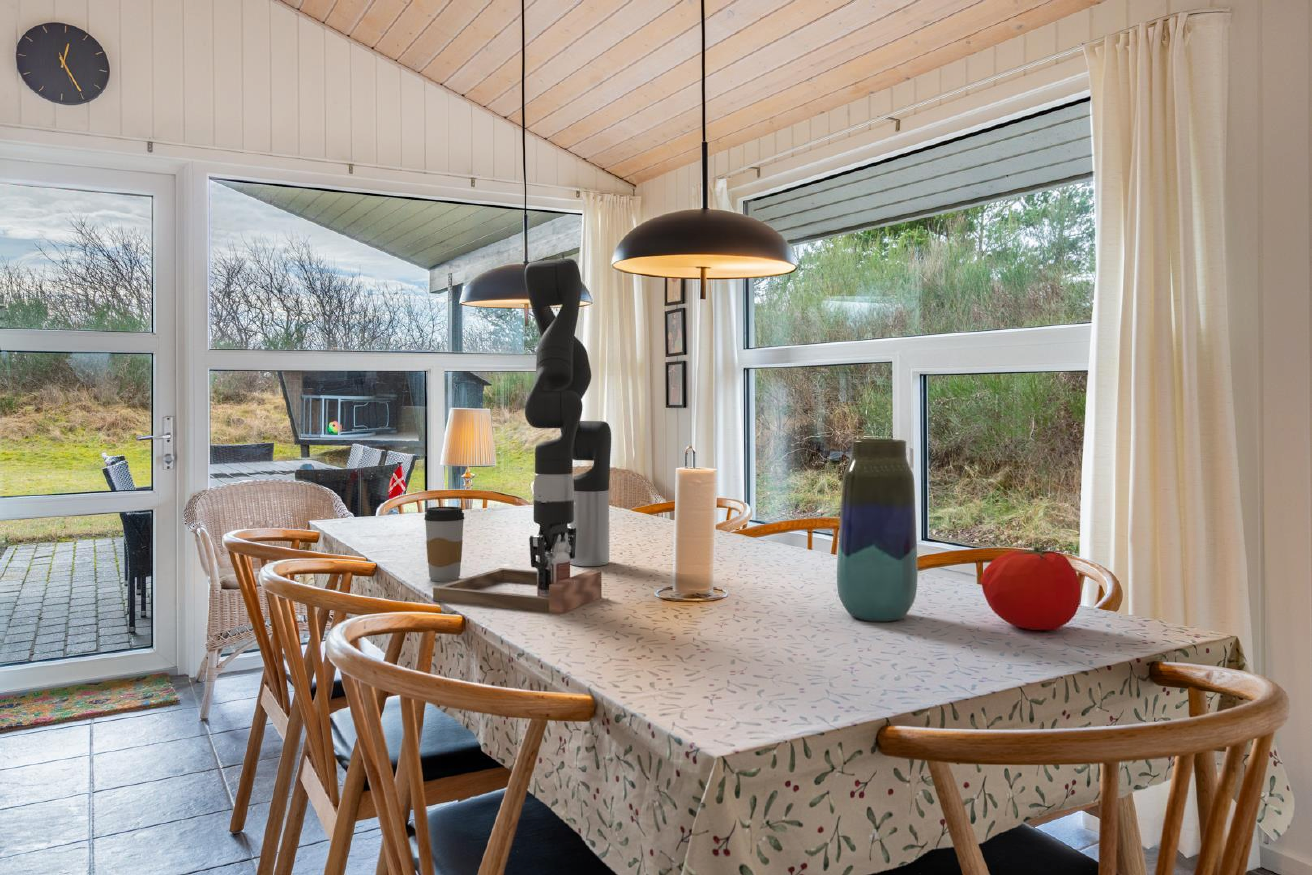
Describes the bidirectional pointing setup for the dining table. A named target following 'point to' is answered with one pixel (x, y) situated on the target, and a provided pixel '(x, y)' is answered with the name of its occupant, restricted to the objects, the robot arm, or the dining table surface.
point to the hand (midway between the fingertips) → (553, 586)
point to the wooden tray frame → (559, 601)
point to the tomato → (1032, 588)
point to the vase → (877, 532)
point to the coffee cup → (444, 542)
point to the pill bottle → (557, 568)
